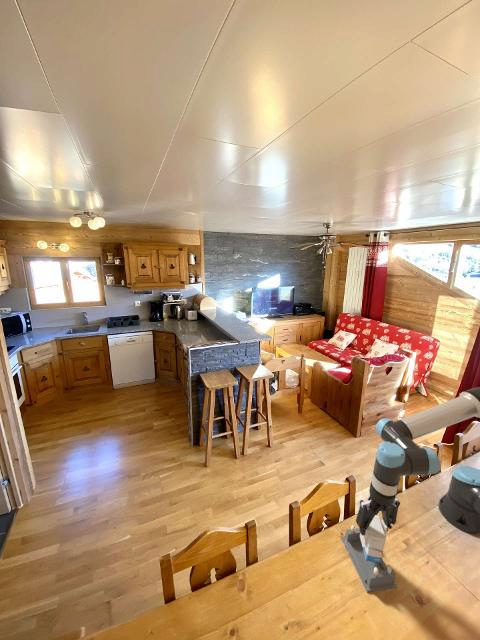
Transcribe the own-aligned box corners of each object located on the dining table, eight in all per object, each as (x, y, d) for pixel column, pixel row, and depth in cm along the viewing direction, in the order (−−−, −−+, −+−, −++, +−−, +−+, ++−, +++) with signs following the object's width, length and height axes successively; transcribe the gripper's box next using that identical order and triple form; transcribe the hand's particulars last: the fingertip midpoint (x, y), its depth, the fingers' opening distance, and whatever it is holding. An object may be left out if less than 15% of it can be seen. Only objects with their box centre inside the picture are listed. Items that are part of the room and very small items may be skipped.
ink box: (381, 564, 90) (386, 538, 87) (365, 561, 91) (370, 535, 88) (373, 538, 98) (378, 513, 95) (359, 535, 99) (363, 511, 96)
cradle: (366, 534, 105) (369, 520, 103) (396, 587, 89) (401, 571, 87) (341, 538, 103) (343, 523, 101) (367, 592, 87) (370, 576, 85)
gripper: (401, 475, 92) (389, 525, 98) (350, 480, 89) (341, 531, 96) (418, 494, 85) (403, 546, 91) (363, 500, 82) (352, 554, 88)
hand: (371, 538), depth 93 cm, fingers closed on ink box, 6 cm apart
